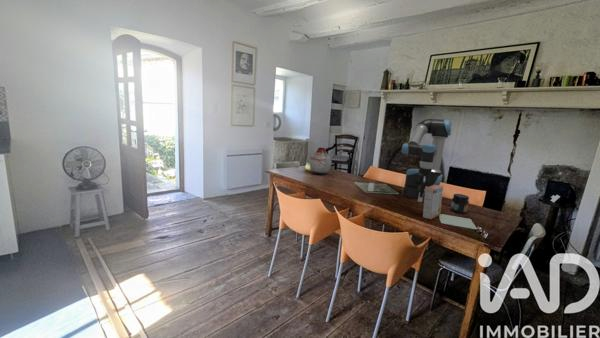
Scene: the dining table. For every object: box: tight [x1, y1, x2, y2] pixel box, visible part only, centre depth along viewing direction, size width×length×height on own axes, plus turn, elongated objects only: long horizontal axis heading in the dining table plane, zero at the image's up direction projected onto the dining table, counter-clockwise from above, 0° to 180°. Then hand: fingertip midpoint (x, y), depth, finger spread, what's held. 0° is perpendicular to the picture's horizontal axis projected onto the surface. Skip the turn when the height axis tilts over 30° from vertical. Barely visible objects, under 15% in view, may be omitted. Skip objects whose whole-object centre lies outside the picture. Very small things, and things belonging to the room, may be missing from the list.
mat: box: [438, 213, 478, 230], centre depth 172 cm, size 18×20×1 cm
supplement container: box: [450, 193, 470, 214], centre depth 191 cm, size 10×10×12 cm
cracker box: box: [422, 185, 444, 221], centre depth 176 cm, size 14×6×21 cm, turn 129°
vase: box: [309, 147, 332, 176], centre depth 278 cm, size 23×23×28 cm
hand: (419, 201), depth 178 cm, fingers closed
